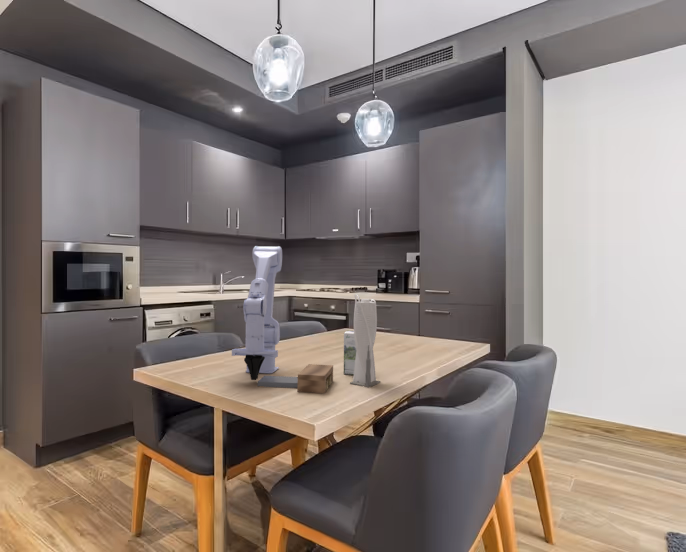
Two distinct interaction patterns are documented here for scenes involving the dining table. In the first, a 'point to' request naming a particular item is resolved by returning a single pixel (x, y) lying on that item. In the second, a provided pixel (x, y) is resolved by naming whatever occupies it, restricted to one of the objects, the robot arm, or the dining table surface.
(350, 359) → the syrup box
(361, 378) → the skyscraper
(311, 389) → the walnut shelf bridge
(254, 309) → the robot arm
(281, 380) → the slate tile
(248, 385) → the dining table surface
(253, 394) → the dining table surface
